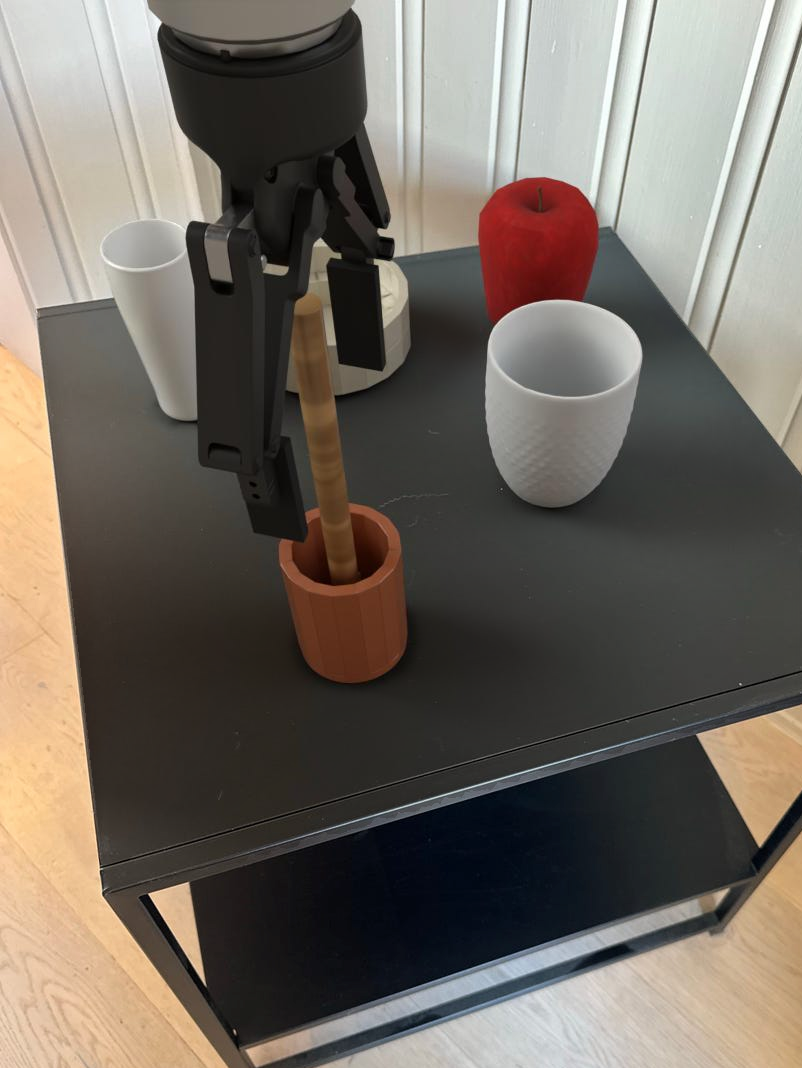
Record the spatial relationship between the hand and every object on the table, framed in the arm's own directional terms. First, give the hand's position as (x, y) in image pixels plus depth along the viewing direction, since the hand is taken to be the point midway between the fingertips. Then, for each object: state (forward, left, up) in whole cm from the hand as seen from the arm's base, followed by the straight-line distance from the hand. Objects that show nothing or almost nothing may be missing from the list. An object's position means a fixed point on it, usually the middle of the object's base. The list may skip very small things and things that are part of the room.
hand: (324, 442), depth 52 cm
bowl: (-12, +30, -19) cm, 37 cm away
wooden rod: (0, 0, -18) cm, 18 cm away
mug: (+10, +20, -19) cm, 29 cm away
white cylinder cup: (-21, +20, -19) cm, 35 cm away
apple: (+5, +38, -19) cm, 43 cm away
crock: (0, 0, -19) cm, 19 cm away
